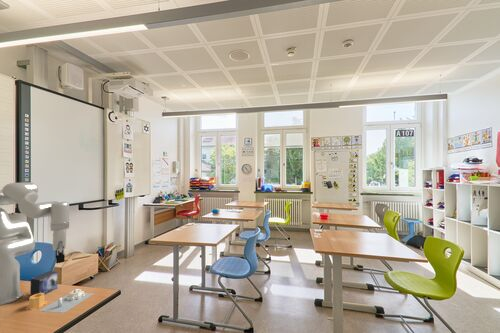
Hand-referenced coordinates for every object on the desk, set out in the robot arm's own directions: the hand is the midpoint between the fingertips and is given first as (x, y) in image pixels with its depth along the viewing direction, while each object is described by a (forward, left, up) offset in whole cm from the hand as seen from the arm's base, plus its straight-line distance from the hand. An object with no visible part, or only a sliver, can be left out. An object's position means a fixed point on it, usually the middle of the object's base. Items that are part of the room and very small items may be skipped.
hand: (59, 259), depth 121 cm
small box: (-22, +10, -24) cm, 34 cm away
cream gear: (+2, +7, -22) cm, 23 cm away
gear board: (+2, +2, -24) cm, 24 cm away
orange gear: (-11, -3, -24) cm, 26 cm away
